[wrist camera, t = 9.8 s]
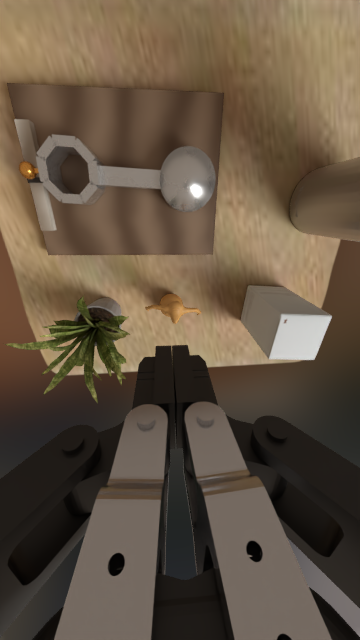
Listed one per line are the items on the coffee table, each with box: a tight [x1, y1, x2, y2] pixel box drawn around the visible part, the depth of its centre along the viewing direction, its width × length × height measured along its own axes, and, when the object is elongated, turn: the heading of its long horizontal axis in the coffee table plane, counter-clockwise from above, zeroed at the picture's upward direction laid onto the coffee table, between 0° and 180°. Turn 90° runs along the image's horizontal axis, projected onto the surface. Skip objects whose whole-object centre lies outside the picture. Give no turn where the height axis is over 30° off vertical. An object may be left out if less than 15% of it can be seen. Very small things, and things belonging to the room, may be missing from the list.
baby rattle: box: [19, 134, 216, 212], centre depth 28 cm, size 24×7×4 cm, turn 87°
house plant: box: [6, 296, 130, 402], centre depth 33 cm, size 14×14×16 cm
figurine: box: [145, 294, 201, 324], centre depth 35 cm, size 8×6×12 cm
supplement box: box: [241, 285, 332, 360], centre depth 36 cm, size 7×7×13 cm
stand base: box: [7, 83, 224, 255], centre depth 31 cm, size 25×19×3 cm
